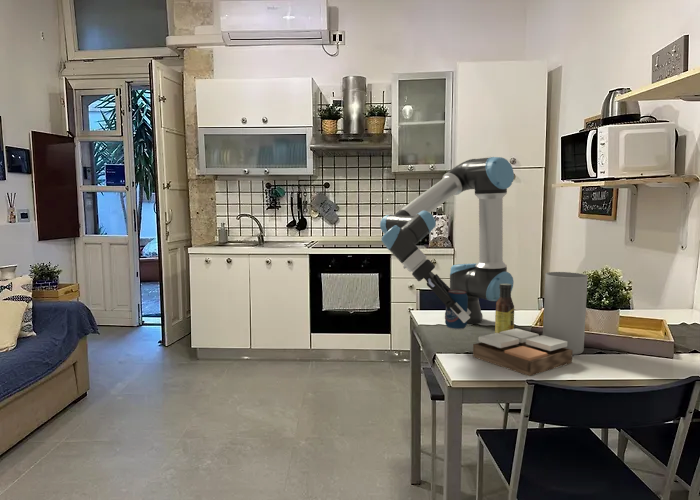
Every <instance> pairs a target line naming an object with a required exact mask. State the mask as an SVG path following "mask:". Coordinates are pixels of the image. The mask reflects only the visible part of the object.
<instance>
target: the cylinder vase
mask: <svg viewBox="0 0 700 500" xmlns="http://www.w3.org/2000/svg"><path fill="white" fill-rule="evenodd" d="M544 276H545V277H544V278H545V279H544V281H545V283H544V297H543V298H544V299H543V300H544V302H543V322H542V335H544V336H548V337H552V338H555V339H559V340H563V341H567V347H564V348H567V349H571V350H573V351H572V356H575V355H581V354H582V353H583V352H584V349H585V348H584V347H585V329H586V313H587V295H588V294H587V293H588V280H589V279H588V277H589V275H587V274H583V273H578V272H570V271H551V272H550V271H549V272H548V271H547V272H546V273H545V275H544Z"/></svg>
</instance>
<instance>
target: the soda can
mask: <svg viewBox="0 0 700 500" xmlns="http://www.w3.org/2000/svg"><path fill="white" fill-rule="evenodd" d="M448 294H449V295H450V297H451V298H452V299H453V300H454V301H455V303H456V302H457V303H458V304H459V305H460V307H461V308H462V309H463V310H464V311H465V312H466V313H467V306H468V296H467V294H466V291H463V290H449V291H448ZM445 312H446V315H445V314H444V319H445V322H444V323H445V326H446V327H447V328H448V329H450V330H464V329H465V328H466V327H467V326H468V325H467V321H466V322H465V323H463V322H462V321H461V319H460V318H459V317H458V316H457V315H456V314H455V313H454V312H453V311H452V310H451V309H450V308H449V309H447V307H446V306H445Z"/></svg>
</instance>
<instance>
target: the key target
mask: <svg viewBox="0 0 700 500" xmlns="http://www.w3.org/2000/svg"><path fill="white" fill-rule="evenodd" d="M504 353H506V354H509V355H512V356H515V357H519V358H522V359H525V360H528V361H531V360H534V359H538V358H541V357H545V356H547V353H546V352H542V351H539V350H535V349H532V348H528V347H525V346H520V347H516V348H512V349H508V350H505V352H504Z"/></svg>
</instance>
